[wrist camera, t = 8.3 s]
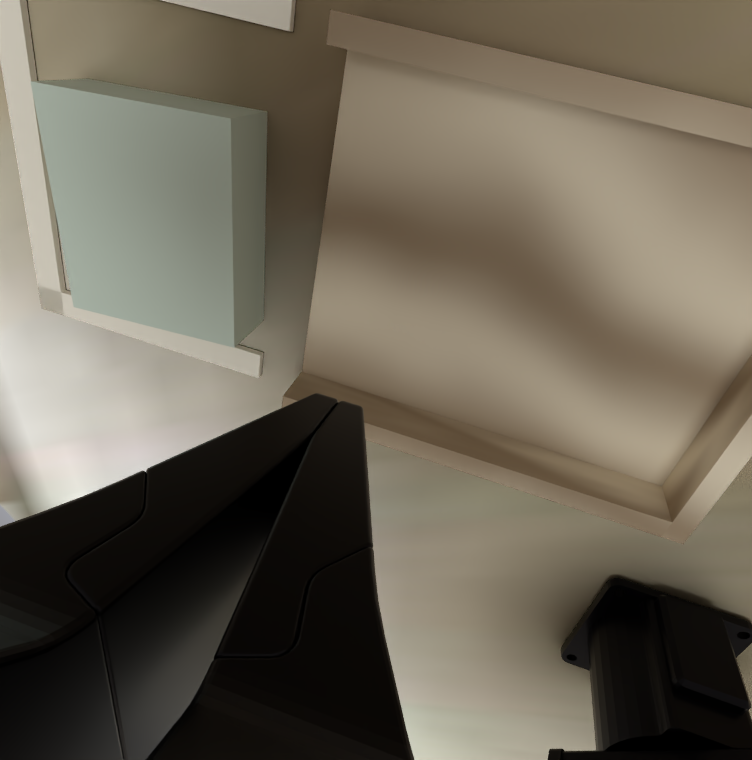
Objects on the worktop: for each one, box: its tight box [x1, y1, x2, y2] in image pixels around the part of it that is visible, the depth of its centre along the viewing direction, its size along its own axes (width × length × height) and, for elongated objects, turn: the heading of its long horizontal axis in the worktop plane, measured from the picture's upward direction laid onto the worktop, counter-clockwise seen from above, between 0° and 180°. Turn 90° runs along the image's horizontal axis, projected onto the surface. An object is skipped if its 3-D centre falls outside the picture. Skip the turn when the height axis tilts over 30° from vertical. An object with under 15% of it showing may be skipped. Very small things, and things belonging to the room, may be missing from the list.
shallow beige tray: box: [282, 9, 752, 544], centre depth 18 cm, size 14×16×2 cm
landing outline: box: [0, 0, 296, 378], centre depth 21 cm, size 14×11×1 cm
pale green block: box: [30, 79, 267, 348], centre depth 20 cm, size 8×7×3 cm
